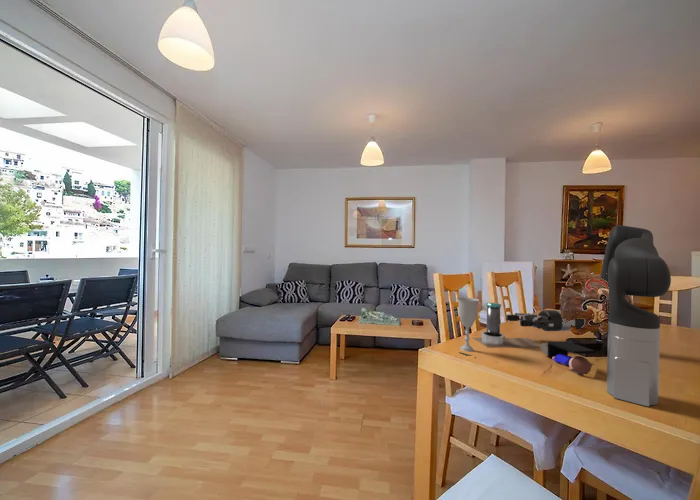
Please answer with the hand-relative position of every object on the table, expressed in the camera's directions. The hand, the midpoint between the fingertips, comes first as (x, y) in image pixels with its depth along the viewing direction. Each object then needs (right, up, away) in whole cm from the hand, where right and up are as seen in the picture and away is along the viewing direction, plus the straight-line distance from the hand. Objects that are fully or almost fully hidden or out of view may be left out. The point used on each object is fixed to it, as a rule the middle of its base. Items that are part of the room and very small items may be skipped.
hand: (513, 320), depth 115 cm
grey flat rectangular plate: (-2, -9, 0) cm, 9 cm away
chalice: (-21, -9, -10) cm, 25 cm away
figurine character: (+5, -10, -20) cm, 23 cm away
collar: (-8, -8, 0) cm, 11 cm away
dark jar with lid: (-8, -8, 0) cm, 11 cm away
